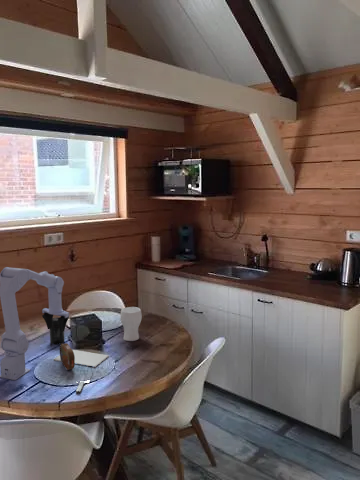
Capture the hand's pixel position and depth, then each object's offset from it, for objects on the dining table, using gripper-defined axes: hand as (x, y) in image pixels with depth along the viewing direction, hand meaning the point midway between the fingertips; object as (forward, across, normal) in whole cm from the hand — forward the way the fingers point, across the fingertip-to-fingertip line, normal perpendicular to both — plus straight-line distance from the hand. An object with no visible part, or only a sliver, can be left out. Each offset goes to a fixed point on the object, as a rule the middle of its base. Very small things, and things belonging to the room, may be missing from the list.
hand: (56, 329), depth 196 cm
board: (+10, -16, +2) cm, 19 cm away
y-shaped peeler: (+10, -31, +19) cm, 37 cm away
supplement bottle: (+10, +7, -8) cm, 15 cm away
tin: (+10, -16, +10) cm, 21 cm away
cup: (+10, -23, -29) cm, 38 cm away
